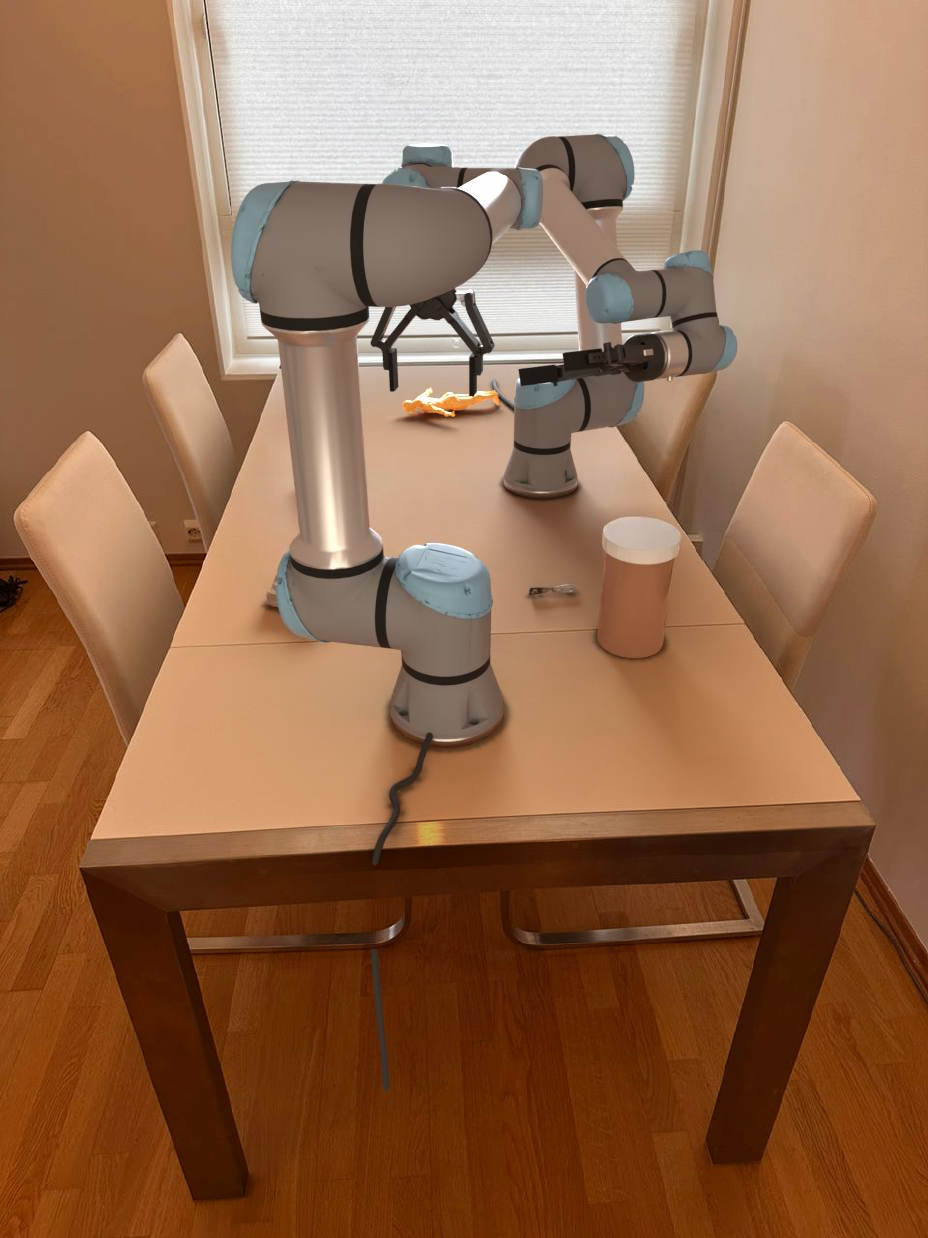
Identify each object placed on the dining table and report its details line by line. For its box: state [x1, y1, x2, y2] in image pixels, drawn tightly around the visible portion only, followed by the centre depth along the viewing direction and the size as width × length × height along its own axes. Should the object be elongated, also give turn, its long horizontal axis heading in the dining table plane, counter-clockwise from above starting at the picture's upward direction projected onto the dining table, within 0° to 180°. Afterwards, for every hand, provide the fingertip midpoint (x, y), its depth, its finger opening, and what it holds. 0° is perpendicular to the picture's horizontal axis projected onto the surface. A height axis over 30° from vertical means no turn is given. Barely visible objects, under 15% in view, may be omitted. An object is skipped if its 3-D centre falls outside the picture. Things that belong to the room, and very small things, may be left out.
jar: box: [596, 550, 675, 659], centre depth 131 cm, size 10×10×18 cm
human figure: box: [402, 385, 500, 418], centre depth 225 cm, size 20×20×4 cm
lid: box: [601, 516, 682, 564], centre depth 127 cm, size 11×11×2 cm
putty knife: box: [528, 583, 577, 596], centre depth 147 cm, size 1×8×2 cm, turn 103°
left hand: (433, 391), depth 149 cm, fingers open, 13 cm apart
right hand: (541, 370), depth 138 cm, fingers open, 13 cm apart
